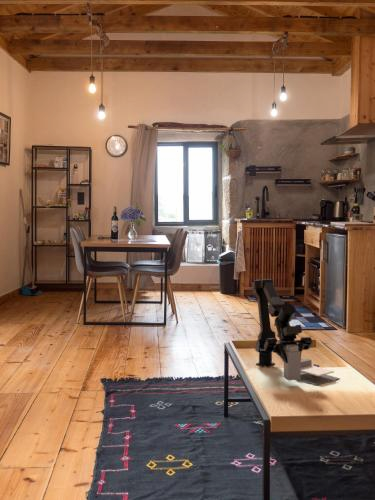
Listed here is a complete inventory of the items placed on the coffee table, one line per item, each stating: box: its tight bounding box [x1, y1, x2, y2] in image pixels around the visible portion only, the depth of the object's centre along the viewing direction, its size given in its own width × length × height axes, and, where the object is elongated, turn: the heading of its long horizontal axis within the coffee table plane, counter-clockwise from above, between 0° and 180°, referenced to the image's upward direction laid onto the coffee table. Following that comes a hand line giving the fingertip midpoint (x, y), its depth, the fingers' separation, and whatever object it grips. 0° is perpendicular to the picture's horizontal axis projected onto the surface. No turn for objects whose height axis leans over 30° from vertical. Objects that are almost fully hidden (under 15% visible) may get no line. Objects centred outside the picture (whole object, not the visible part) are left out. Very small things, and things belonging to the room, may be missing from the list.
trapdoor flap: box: [301, 358, 335, 376], centre depth 220 cm, size 14×10×3 cm
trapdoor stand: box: [298, 363, 341, 386], centre depth 220 cm, size 17×15×4 cm
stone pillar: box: [283, 344, 302, 381], centre depth 209 cm, size 5×5×13 cm
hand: (293, 362), depth 208 cm, fingers closed on stone pillar, 5 cm apart
